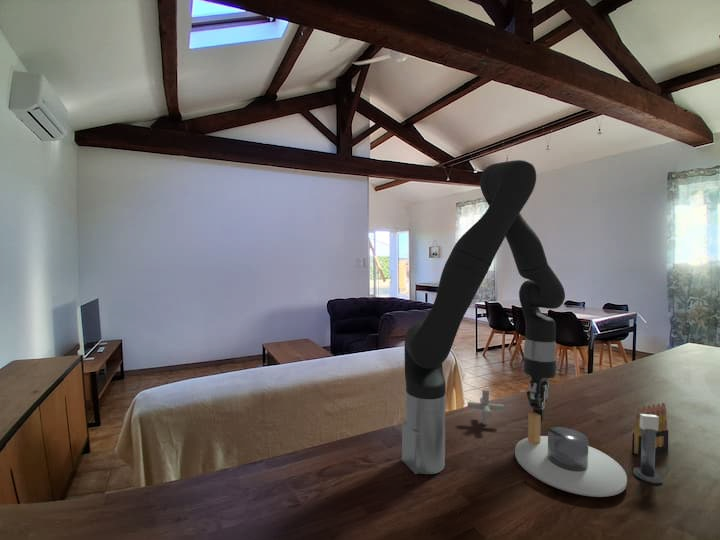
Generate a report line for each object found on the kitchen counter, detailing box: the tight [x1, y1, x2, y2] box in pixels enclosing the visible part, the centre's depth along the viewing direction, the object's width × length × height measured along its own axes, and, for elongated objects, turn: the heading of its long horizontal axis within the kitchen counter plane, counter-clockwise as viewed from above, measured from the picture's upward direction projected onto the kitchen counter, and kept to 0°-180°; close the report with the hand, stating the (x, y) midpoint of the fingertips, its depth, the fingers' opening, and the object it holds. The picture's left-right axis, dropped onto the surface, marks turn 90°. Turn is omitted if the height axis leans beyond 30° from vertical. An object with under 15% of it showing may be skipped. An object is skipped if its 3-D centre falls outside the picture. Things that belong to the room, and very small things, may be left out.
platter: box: [514, 411, 628, 498], centre depth 80 cm, size 22×22×8 cm
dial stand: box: [632, 414, 663, 485], centre depth 78 cm, size 5×5×14 cm
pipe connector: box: [467, 388, 505, 426], centre depth 103 cm, size 10×10×10 cm
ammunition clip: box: [631, 402, 669, 457], centre depth 88 cm, size 11×2×12 cm, turn 108°
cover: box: [547, 426, 589, 472], centre depth 80 cm, size 8×8×6 cm
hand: (538, 421), depth 92 cm, fingers closed
